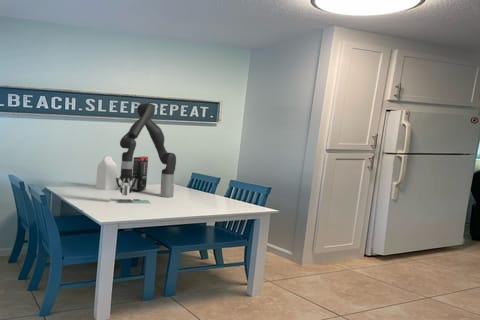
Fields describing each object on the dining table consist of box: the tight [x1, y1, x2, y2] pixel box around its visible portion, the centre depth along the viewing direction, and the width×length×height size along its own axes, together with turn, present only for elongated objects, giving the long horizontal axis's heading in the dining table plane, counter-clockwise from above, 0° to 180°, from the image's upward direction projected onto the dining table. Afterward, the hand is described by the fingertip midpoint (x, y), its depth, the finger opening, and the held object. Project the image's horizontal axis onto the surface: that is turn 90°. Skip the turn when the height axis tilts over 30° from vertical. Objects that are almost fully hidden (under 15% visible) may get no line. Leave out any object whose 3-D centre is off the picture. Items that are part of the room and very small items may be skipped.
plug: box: [121, 184, 130, 196], centre depth 303 cm, size 4×4×6 cm
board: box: [115, 198, 151, 205], centre depth 305 cm, size 22×14×2 cm, turn 109°
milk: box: [95, 155, 118, 191], centre depth 362 cm, size 12×12×26 cm
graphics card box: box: [131, 156, 149, 192], centre depth 364 cm, size 17×7×27 cm, turn 172°
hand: (125, 193), depth 304 cm, fingers closed on plug, 4 cm apart
